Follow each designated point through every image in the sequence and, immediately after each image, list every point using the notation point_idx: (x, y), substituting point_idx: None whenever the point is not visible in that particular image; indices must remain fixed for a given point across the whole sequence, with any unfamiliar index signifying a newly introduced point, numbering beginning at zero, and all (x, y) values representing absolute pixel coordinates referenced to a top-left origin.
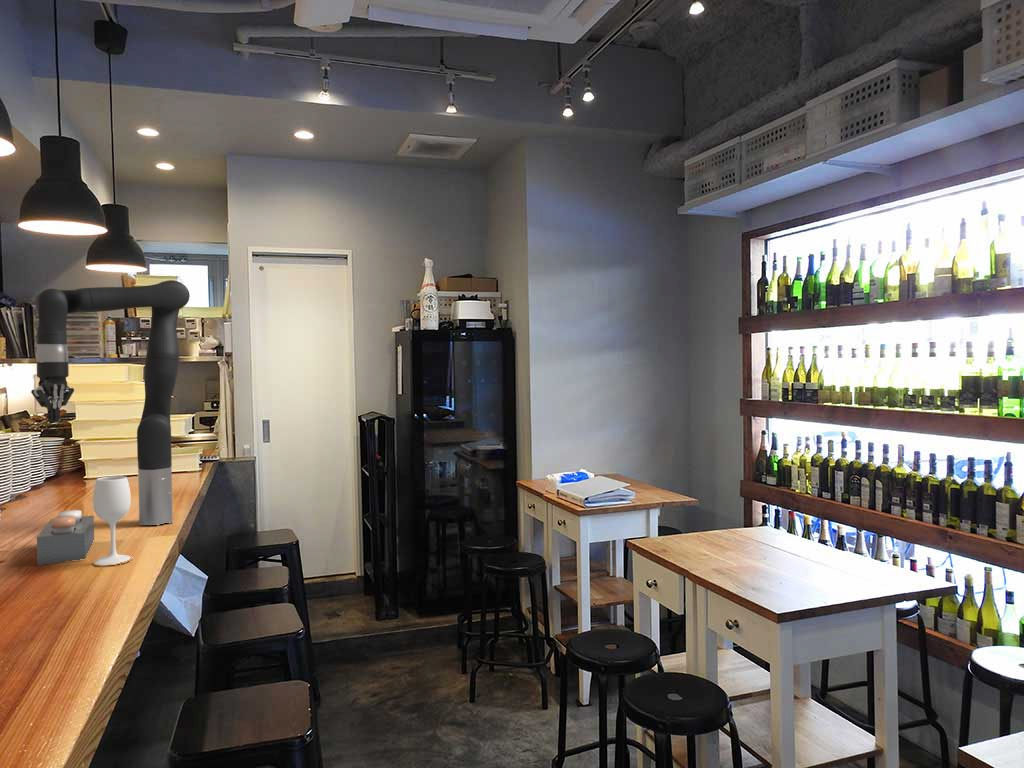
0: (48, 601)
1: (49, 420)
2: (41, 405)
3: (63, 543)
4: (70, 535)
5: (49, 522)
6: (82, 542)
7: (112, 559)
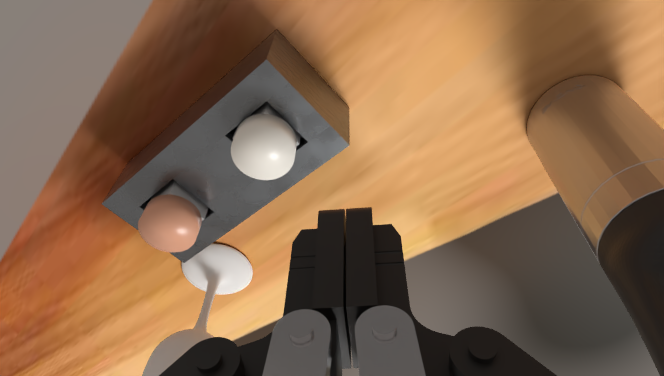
0: (29, 319)
1: (319, 223)
2: (183, 369)
3: None
4: None
5: (227, 96)
6: None
7: (203, 283)
